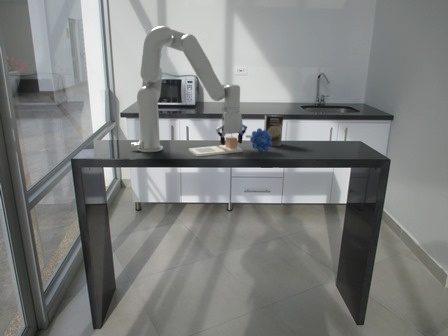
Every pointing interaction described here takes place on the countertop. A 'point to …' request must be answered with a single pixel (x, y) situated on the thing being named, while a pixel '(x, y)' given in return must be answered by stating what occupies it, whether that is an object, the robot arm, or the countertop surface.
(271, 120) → the coffee box
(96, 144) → the countertop surface
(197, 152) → the cream panel with window
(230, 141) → the stub
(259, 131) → the grapes
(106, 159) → the countertop surface
